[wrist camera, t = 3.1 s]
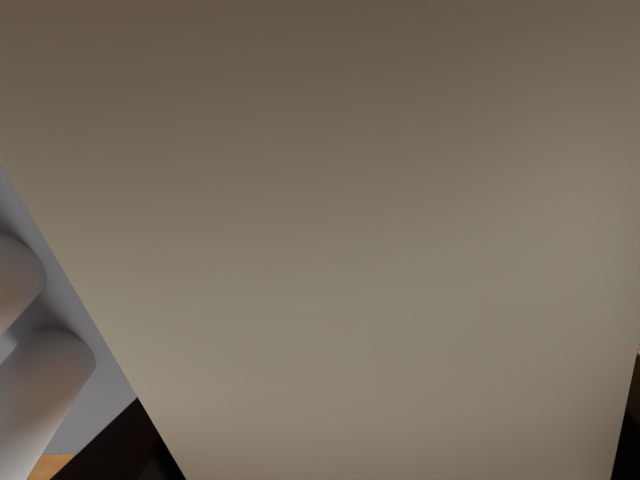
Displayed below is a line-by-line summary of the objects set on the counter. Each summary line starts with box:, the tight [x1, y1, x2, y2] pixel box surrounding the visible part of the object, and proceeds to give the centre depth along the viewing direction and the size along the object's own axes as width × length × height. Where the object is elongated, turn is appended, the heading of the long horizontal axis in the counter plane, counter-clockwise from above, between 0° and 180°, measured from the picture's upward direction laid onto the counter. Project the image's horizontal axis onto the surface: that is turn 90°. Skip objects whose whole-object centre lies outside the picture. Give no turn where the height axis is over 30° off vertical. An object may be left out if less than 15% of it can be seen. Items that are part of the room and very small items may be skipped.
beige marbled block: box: [0, 0, 640, 480], centre depth 8 cm, size 16×5×4 cm, turn 11°
